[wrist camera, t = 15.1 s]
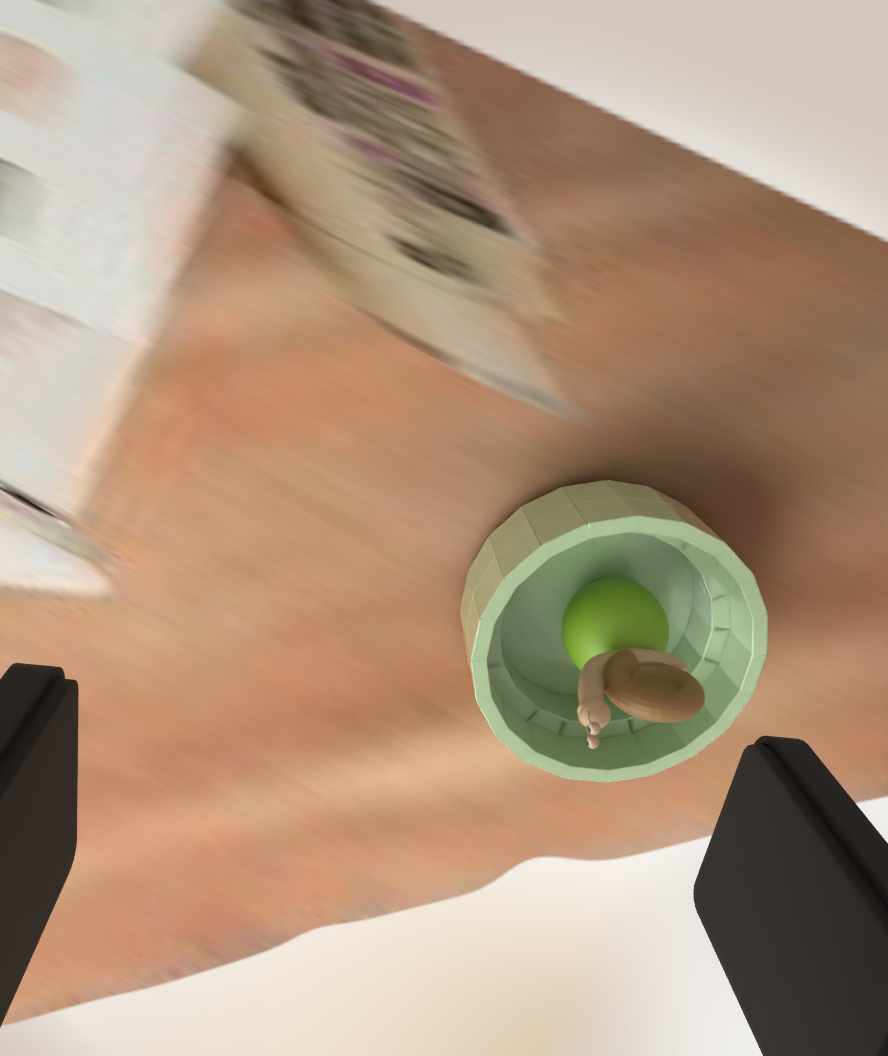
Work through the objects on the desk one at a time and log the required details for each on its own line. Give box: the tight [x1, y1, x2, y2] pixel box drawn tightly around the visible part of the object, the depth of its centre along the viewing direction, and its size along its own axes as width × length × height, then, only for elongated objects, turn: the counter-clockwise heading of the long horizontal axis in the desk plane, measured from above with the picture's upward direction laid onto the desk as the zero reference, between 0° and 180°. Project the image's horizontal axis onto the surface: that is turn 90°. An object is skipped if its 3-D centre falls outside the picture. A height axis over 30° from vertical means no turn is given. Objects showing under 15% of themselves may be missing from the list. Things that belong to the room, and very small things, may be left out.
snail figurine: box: [562, 578, 705, 749], centre depth 39 cm, size 5×6×12 cm
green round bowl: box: [460, 480, 768, 782], centre depth 42 cm, size 15×15×6 cm
